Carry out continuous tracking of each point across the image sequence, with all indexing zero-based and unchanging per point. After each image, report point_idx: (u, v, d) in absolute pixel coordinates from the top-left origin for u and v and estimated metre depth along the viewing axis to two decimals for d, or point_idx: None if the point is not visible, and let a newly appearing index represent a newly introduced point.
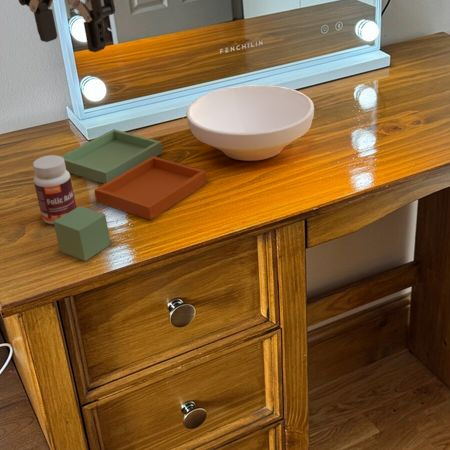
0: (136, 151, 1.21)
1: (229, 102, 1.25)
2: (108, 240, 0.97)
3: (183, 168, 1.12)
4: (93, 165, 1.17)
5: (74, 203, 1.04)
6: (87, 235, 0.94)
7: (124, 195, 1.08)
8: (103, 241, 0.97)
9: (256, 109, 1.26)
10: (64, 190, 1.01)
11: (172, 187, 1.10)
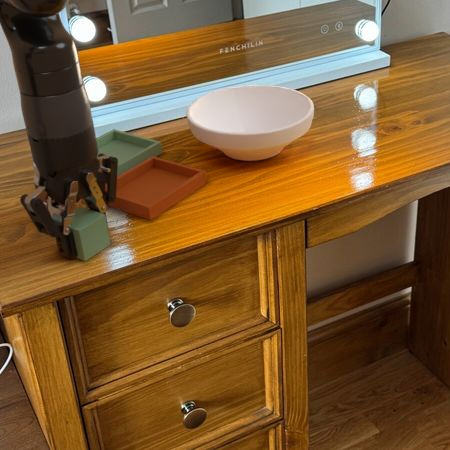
0: (136, 151, 1.21)
1: (229, 102, 1.25)
2: (108, 240, 0.97)
3: (183, 168, 1.12)
4: None
5: None
6: (87, 235, 0.94)
7: (124, 195, 1.08)
8: (103, 241, 0.97)
9: (256, 108, 1.26)
10: None
11: (172, 187, 1.10)
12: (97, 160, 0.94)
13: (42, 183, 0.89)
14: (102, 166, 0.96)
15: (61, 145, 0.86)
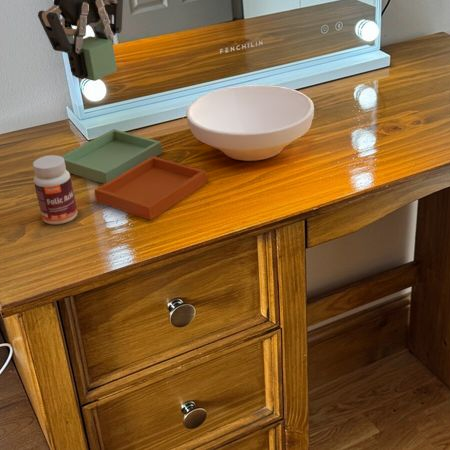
0: (136, 151, 1.21)
1: (229, 102, 1.25)
2: (115, 66, 1.10)
3: (183, 168, 1.12)
4: (93, 165, 1.17)
5: (74, 203, 1.04)
6: (97, 56, 1.06)
7: (124, 195, 1.08)
8: (110, 66, 1.09)
9: (256, 108, 1.26)
10: (64, 190, 1.01)
11: (172, 187, 1.10)
12: None
13: (57, 2, 1.01)
14: None
15: None
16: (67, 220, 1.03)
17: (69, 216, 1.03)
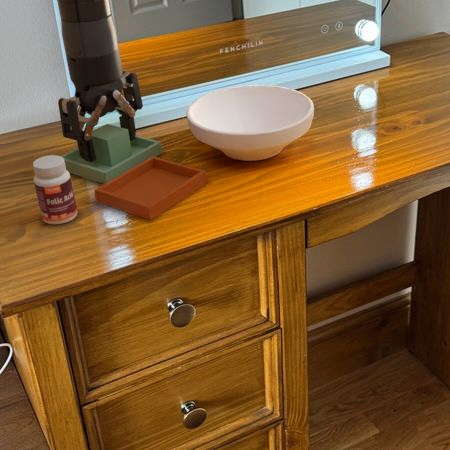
0: (136, 151, 1.21)
1: (229, 102, 1.25)
2: (130, 151, 1.19)
3: (183, 168, 1.12)
4: (93, 165, 1.17)
5: (74, 203, 1.04)
6: (114, 145, 1.15)
7: (124, 195, 1.08)
8: (126, 152, 1.18)
9: (256, 108, 1.26)
10: (64, 190, 1.01)
11: (172, 187, 1.10)
12: (120, 80, 1.15)
13: (78, 95, 1.10)
14: (125, 83, 1.16)
15: (94, 63, 1.07)
16: (67, 220, 1.03)
17: (69, 216, 1.03)
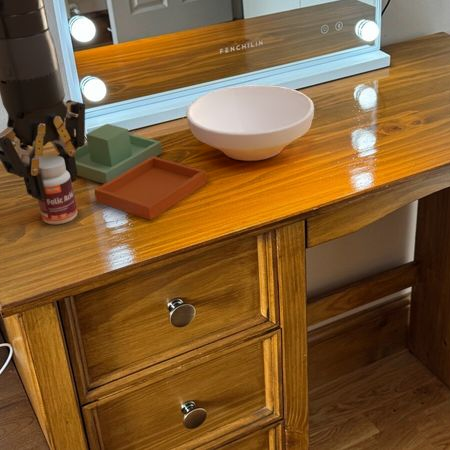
0: (136, 151, 1.21)
1: (229, 102, 1.25)
2: (130, 151, 1.19)
3: (183, 168, 1.12)
4: (93, 165, 1.17)
5: (74, 203, 1.04)
6: (114, 145, 1.15)
7: (124, 195, 1.08)
8: (126, 152, 1.18)
9: (256, 108, 1.26)
10: (64, 190, 1.01)
11: (172, 187, 1.10)
12: (64, 105, 0.99)
13: (11, 124, 0.94)
14: (70, 111, 1.01)
15: (28, 86, 0.91)
16: (67, 220, 1.03)
17: (69, 216, 1.03)
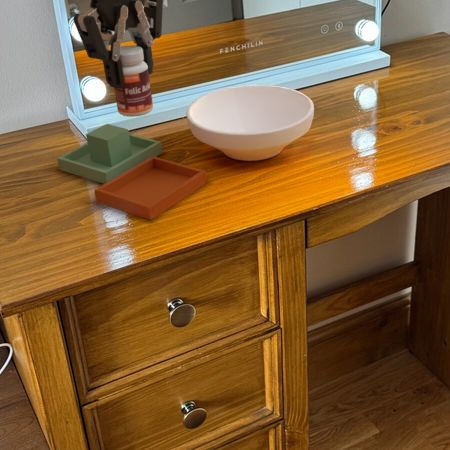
0: (136, 151, 1.21)
1: (229, 102, 1.25)
2: (130, 151, 1.19)
3: (183, 168, 1.12)
4: (93, 165, 1.17)
5: (151, 96, 1.02)
6: (114, 145, 1.15)
7: (124, 195, 1.08)
8: (126, 152, 1.18)
9: (256, 108, 1.26)
10: (142, 79, 0.99)
11: (172, 187, 1.10)
12: None
13: (94, 5, 0.93)
14: (148, 0, 0.99)
15: None
16: (144, 112, 1.01)
17: (146, 108, 1.01)
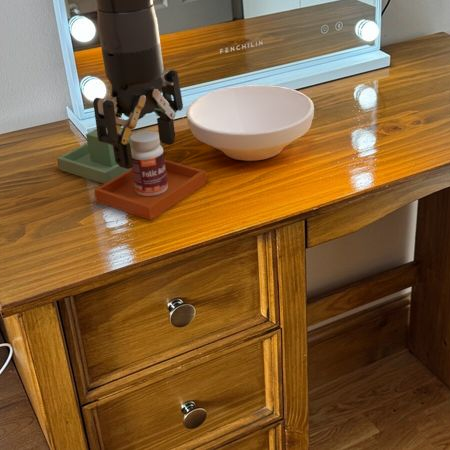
0: None
1: (229, 102, 1.25)
2: None
3: (183, 168, 1.12)
4: (93, 165, 1.17)
5: (166, 176, 1.08)
6: None
7: (124, 195, 1.08)
8: None
9: (256, 108, 1.26)
10: (158, 163, 1.06)
11: (172, 187, 1.10)
12: (160, 78, 1.03)
13: (114, 94, 0.99)
14: (165, 81, 1.05)
15: (134, 59, 0.96)
16: (160, 192, 1.08)
17: (161, 188, 1.08)
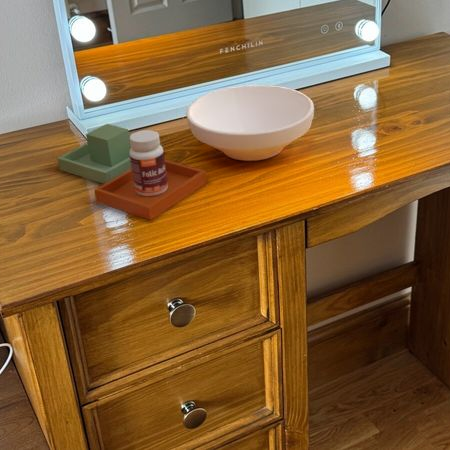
0: None
1: (229, 102, 1.25)
2: None
3: (183, 168, 1.12)
4: (93, 165, 1.17)
5: (166, 176, 1.08)
6: (114, 145, 1.15)
7: (124, 195, 1.08)
8: (126, 152, 1.18)
9: (256, 108, 1.26)
10: (158, 163, 1.06)
11: (172, 187, 1.10)
12: None
13: None
14: None
15: None
16: (160, 192, 1.08)
17: (161, 188, 1.08)
